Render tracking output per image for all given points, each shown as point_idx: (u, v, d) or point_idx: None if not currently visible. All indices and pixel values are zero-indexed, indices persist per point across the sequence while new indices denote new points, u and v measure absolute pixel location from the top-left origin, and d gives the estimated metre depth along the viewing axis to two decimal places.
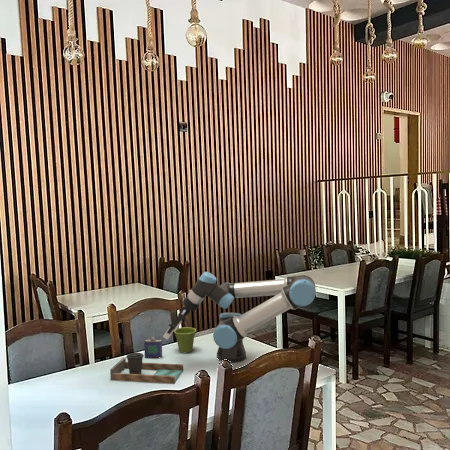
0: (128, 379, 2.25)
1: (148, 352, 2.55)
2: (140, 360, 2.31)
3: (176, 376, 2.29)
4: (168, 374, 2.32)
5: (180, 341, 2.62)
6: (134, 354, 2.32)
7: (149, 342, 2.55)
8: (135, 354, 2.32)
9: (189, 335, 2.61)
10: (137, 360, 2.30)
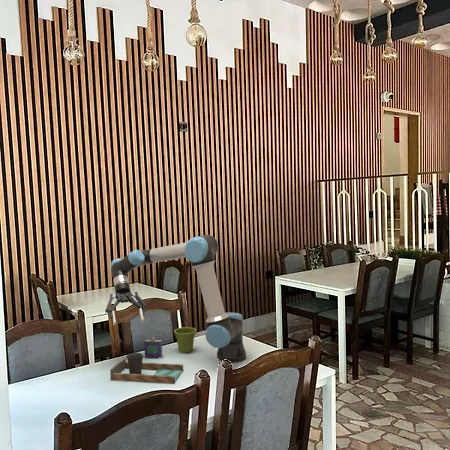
0: (128, 379, 2.25)
1: (148, 352, 2.55)
2: (140, 360, 2.31)
3: (176, 376, 2.29)
4: (168, 374, 2.32)
5: (180, 341, 2.62)
6: (134, 354, 2.32)
7: (149, 342, 2.55)
8: (135, 354, 2.32)
9: (189, 335, 2.61)
10: (137, 360, 2.30)
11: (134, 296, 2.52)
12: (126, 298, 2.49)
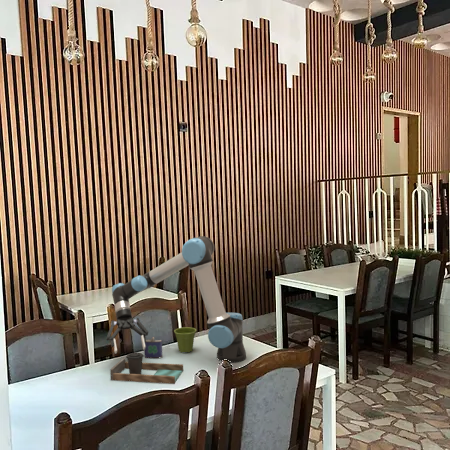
0: (128, 379, 2.25)
1: (148, 352, 2.55)
2: (140, 360, 2.31)
3: (176, 376, 2.29)
4: (168, 374, 2.32)
5: (180, 341, 2.62)
6: (134, 354, 2.32)
7: (149, 342, 2.55)
8: (135, 354, 2.32)
9: (189, 335, 2.61)
10: (137, 360, 2.30)
11: (136, 322, 2.48)
12: (127, 325, 2.45)
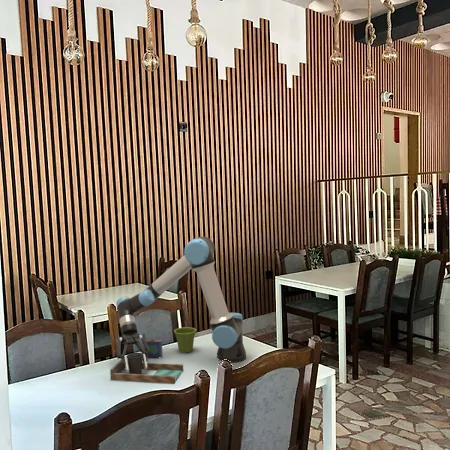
0: (128, 379, 2.25)
1: None
2: (140, 360, 2.31)
3: (176, 376, 2.29)
4: (168, 374, 2.32)
5: (180, 341, 2.62)
6: (134, 354, 2.32)
7: (149, 342, 2.55)
8: (135, 354, 2.32)
9: (189, 335, 2.61)
10: (138, 360, 2.30)
11: (141, 338, 2.41)
12: (133, 340, 2.38)
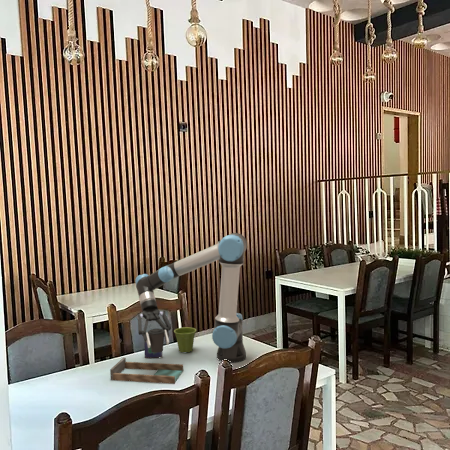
0: (128, 379, 2.25)
1: (148, 352, 2.55)
2: (162, 336, 2.28)
3: (176, 376, 2.29)
4: (168, 374, 2.32)
5: (180, 341, 2.62)
6: (155, 330, 2.30)
7: None
8: (156, 330, 2.30)
9: (189, 335, 2.61)
10: (159, 336, 2.27)
11: (161, 315, 2.38)
12: (154, 316, 2.35)
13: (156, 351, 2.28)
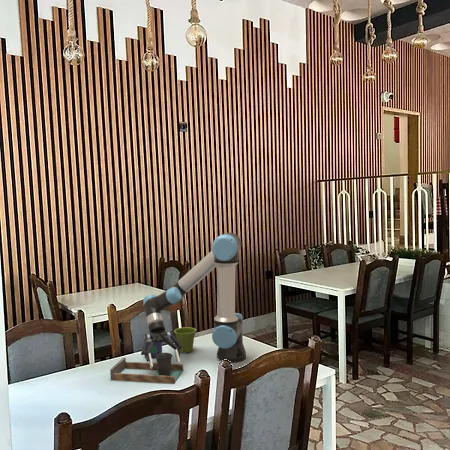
0: (128, 379, 2.25)
1: None
2: (169, 360, 2.29)
3: (176, 376, 2.29)
4: None
5: (180, 341, 2.62)
6: (163, 354, 2.30)
7: (149, 342, 2.55)
8: (164, 354, 2.30)
9: (189, 335, 2.61)
10: (167, 360, 2.28)
11: (169, 335, 2.39)
12: (161, 338, 2.36)
13: (164, 375, 2.28)
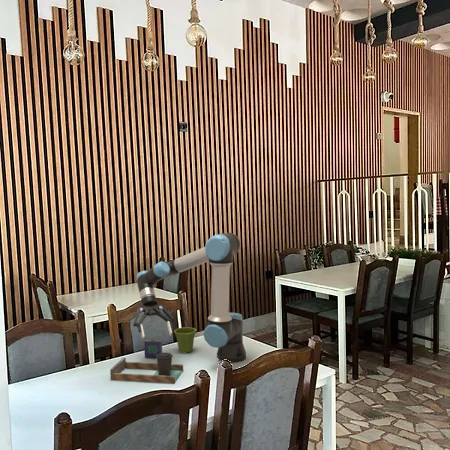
0: (128, 379, 2.25)
1: (148, 352, 2.55)
2: (169, 360, 2.29)
3: (176, 376, 2.29)
4: None
5: (180, 341, 2.62)
6: (163, 354, 2.30)
7: (149, 342, 2.55)
8: (164, 354, 2.30)
9: (189, 335, 2.61)
10: (167, 360, 2.28)
11: (161, 309, 2.50)
12: (153, 311, 2.47)
13: None
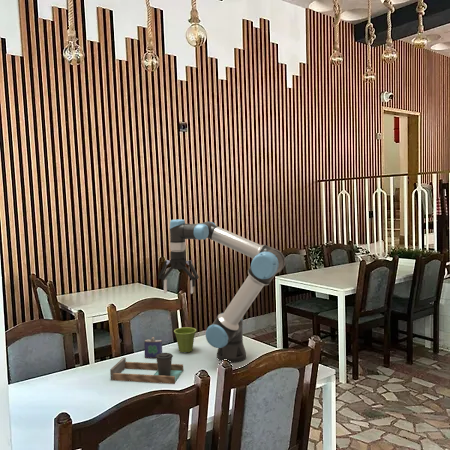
0: (128, 379, 2.25)
1: (148, 352, 2.55)
2: (169, 360, 2.29)
3: (176, 376, 2.29)
4: None
5: (180, 341, 2.62)
6: (163, 354, 2.30)
7: (149, 342, 2.55)
8: (164, 354, 2.30)
9: (189, 335, 2.61)
10: (167, 360, 2.28)
11: (188, 264, 2.46)
12: (179, 267, 2.46)
13: None
